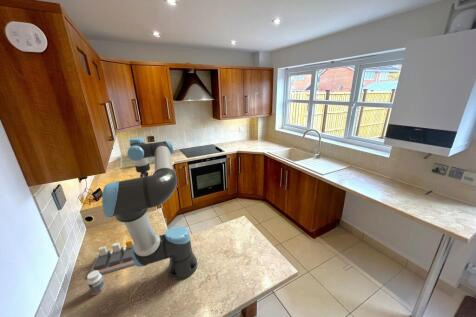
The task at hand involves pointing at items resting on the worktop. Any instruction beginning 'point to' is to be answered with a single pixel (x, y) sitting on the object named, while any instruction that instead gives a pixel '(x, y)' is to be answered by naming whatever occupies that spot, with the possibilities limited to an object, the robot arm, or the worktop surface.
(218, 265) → the worktop surface
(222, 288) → the worktop surface
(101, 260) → the panel
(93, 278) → the pill bottle
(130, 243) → the block
